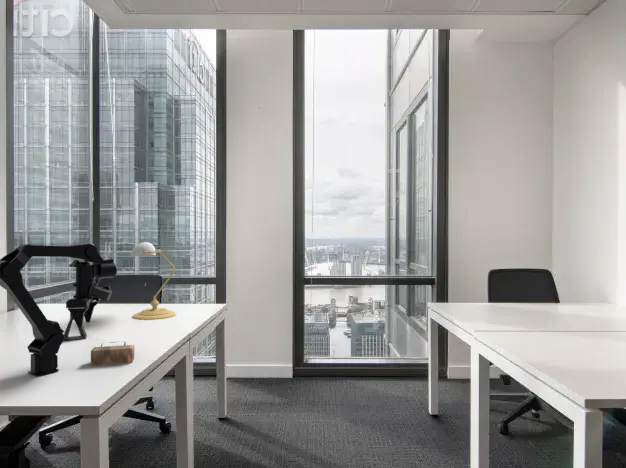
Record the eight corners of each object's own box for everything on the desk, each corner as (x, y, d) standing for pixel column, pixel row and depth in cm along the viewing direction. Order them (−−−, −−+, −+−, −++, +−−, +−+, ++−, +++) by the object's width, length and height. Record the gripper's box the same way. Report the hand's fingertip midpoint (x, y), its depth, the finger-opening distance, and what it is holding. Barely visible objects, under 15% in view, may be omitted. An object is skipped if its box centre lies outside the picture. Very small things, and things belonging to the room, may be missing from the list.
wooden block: (90, 350, 145) (132, 348, 148) (94, 347, 150) (134, 344, 153) (90, 365, 145) (132, 362, 148) (94, 361, 150) (134, 358, 153)
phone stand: (87, 336, 188) (87, 308, 188) (86, 339, 182) (86, 310, 182) (63, 338, 184) (63, 309, 184) (61, 341, 179) (61, 312, 179)
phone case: (124, 356, 159) (125, 344, 174) (124, 351, 159) (125, 340, 174) (97, 358, 156) (101, 346, 171) (97, 354, 156) (101, 342, 171)
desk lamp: (132, 312, 245) (132, 241, 246) (174, 309, 253) (174, 241, 254) (129, 322, 216) (129, 242, 217) (177, 319, 225) (177, 242, 225)
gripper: (102, 282, 142) (102, 329, 142) (116, 277, 160) (115, 319, 160) (65, 282, 139) (65, 330, 139) (83, 277, 158) (82, 320, 157)
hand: (84, 324), depth 149 cm, fingers open, 9 cm apart
